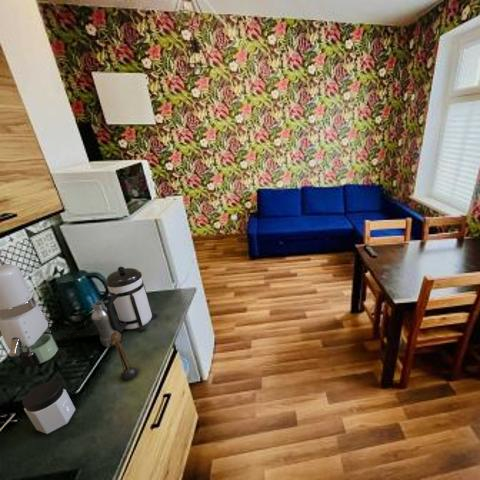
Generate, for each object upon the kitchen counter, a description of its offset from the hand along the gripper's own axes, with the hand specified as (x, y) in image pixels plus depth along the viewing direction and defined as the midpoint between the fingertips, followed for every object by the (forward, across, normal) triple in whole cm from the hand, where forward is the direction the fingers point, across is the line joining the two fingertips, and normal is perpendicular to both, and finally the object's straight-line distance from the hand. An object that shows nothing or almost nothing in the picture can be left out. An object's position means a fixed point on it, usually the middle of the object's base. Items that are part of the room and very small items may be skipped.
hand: (41, 354), depth 81 cm
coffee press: (+20, -33, +14) cm, 41 cm away
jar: (+20, +8, +1) cm, 21 cm away
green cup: (+1, 0, 0) cm, 1 cm away
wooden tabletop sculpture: (+20, -3, +18) cm, 27 cm away
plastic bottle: (+20, -24, +6) cm, 32 cm away
